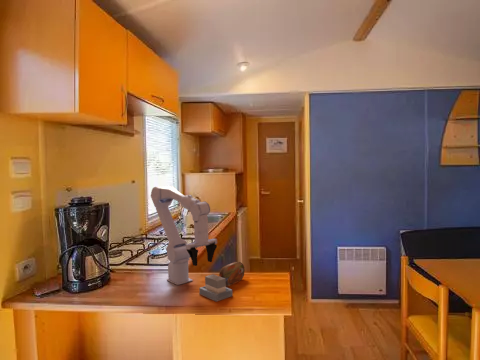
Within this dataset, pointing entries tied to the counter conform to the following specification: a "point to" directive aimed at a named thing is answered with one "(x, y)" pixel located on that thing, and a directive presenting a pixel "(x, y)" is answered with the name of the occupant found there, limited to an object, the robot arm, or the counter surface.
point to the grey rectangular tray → (215, 296)
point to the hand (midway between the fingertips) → (202, 263)
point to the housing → (215, 283)
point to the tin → (232, 273)
